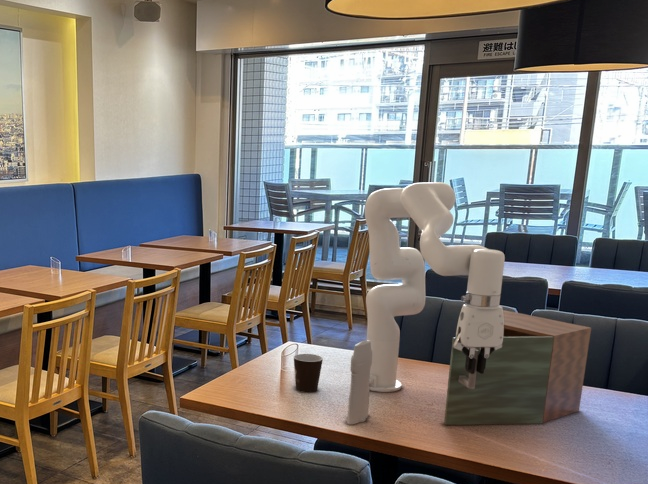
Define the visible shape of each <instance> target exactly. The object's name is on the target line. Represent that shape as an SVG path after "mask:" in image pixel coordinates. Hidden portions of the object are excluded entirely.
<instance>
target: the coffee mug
mask: <svg viewBox="0 0 648 484" xmlns="http://www.w3.org/2000/svg"><path fill="white" fill-rule="evenodd" d="M323 361H324V358H323V356H321V355H318V354H314V353H298V354H295V355H294V356H293V365H294V378H295V379H294V381H295V382H294V383H295V390H296V391H298V392H301V393H316V392H317V391H318V388H319V383H320V376H321V371H322V366H323Z"/></svg>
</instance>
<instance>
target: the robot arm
mask: <svg viewBox="0 0 648 484" xmlns="http://www.w3.org/2000/svg"><path fill="white" fill-rule="evenodd" d="M455 204H456V192H455V190H454V189H453V187H452V186H450V184H448V183H447V182H440V181H439V182H438V181H437V182H434V181H433V182H432V181H431V182H414V183H412V184H408V185H407V186H406V187H402V188H401V187H391V188H381V189H377V190H375V191H373V192H371V193H370V194H369V196H368V197H367V198H366V202H365V204H364V219H365V223H366V226H367V232H368V239H369V242H368V243H369V247H368V248H369V269H370V274H371V276H372V278H374V279H375V280H378V281H398V280H401V283H398V284H397V283H393V284H392V283H391V284H379V285H376V286H373V287H372V288H370V289H369V290H368V291H367V293H366V296H365V307H366V316H367V317H366V318H367V327H366V341H367V340H370V342H371V350H372V351H373V353H372V365H371V369H370V379H369V391H372V392H378V393H391V392H398V391H400V390H401V389H402V383H401V382H400V381H399V380H397V376H398V364H399V351H400V341H401V340H400V339H401V330H400V326H399V324H398V323H397V322H396V320H395V317H402V316H413V315H417V314H420V313H421V312H422V311H423V310H424V308H425V306H426V297H427V295H426V265H425V262H426V264H427V265H428V266H429V267H430V269H431V270H432V271H433V272H434V273H436V274H437V275H440V276H443V277H452V276H468V277H467V285H466V292H465V295H462V296H461V297H460V300H461V302H464V303H465V304H462V307H461V310H460V313H459V316H458V319H457V320H458V321H457V325H456V331H455V337H456V340H455V342H454V344H453V347H454V348H455V349H458V350H460V351H462V352H463V353H464V355H466V362H465V369H466V371H467V372H469V373H471V374H474V373H475V364H476V359H475V358H474V353H475V347H480V348H479V355H478V362H477V372H479V373H481V374H483V373H484V369H485V366H486V358H488V357H489V355H490V354H491V353H492V352H493V351H494V350H497V349H500V348H502V342H503V334H504V316H503V310H504V309H503V308H504V307H503V306H501V305H500V302H501V294H502V287H503V286H502V285H503V278H504V277H503V276H504V271H505V270H504V268H505V261H506V260H505V259H506V257H505V254H504V252H503V251H501V250H498V249H491V248H487V247H485V246H482V245H480V244H458V245H457V244H455V245H446V244H444V242H443V241H442V240H441V238H440V237H442V236H444V235H445V234H446V233H447V232H448V231H449V230H450V229H451V228H452V226H453V224H454V215H453V214H452V212H451V210H453V208H454V206H455ZM394 218H395V219H396V218H397V219H398V218H399V219H400V218H401V219H402V218H405V219H406V218H411V219H412V221H413V222H414V223H415V225H416V226H417V227H418V229H419V230H420V231H421V233H420V238H419V248H420V249H419V250H418V249H417V248H415V247H401V246H400V233H399V230H398V227H397V226H396V224H395V223H394V222H393V220H392V219H394ZM462 344H463V345H464V346H465V347H464V346H462Z"/></svg>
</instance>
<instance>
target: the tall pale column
mask: <svg viewBox="0 0 648 484" xmlns="http://www.w3.org/2000/svg"><path fill="white" fill-rule="evenodd" d="M372 353H373V351H372V350H371V342H370V340H367V339H366V340H361V341H360V342H357V343H355V345H354V348H353V353H352V355H351V358H350V370H349V371H350V389H349V396H348V405H347V418H346V419H347V420H346V421H347V422H346V423H347V425H356V424H358V423H363V422H365V421H366V419H367V418H368V416H369V406H370V405H369V404H370V390H369V379H370V369H371V365H372Z"/></svg>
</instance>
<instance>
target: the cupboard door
mask: <svg viewBox="0 0 648 484" xmlns="http://www.w3.org/2000/svg"><path fill="white" fill-rule="evenodd" d="M553 339H554V337H552V336H532V337H503V342H502V348H500V349H497V350H494V351H493V352H492V353H491V354H490V355H489V357H488V358H486V366H485V369H484V373H483V374H481V373H479V372H477V362H478V355H479V348H480V347H475V353H474V358H475V359H476V364H475V373H474V374H471V373H469V372H467V371H466V369H465V362H466V355H464V353H463V352H462V351H460V350H458V349H455V348H454V347H453V344H454V342H455V340H456V336H455V337H452V341H451V351H450V359H449V360H450V361H449V369H448V370H449V371H448V380H447V390H446V399H445V400H446V401H445V409H444V419H443V420H444V421H443V424H444V425H445V426H456V425H462V426H465V425H522V424H523V425H525V424H526V425H527V424H536V425H537V424H543V422H542V421H543V413H544V406H545V398H546V391H547V384H548V376H549V369H550V361H551V354H552V347H553ZM462 346H464V345H463V344H462ZM464 347H465V346H464Z"/></svg>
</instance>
